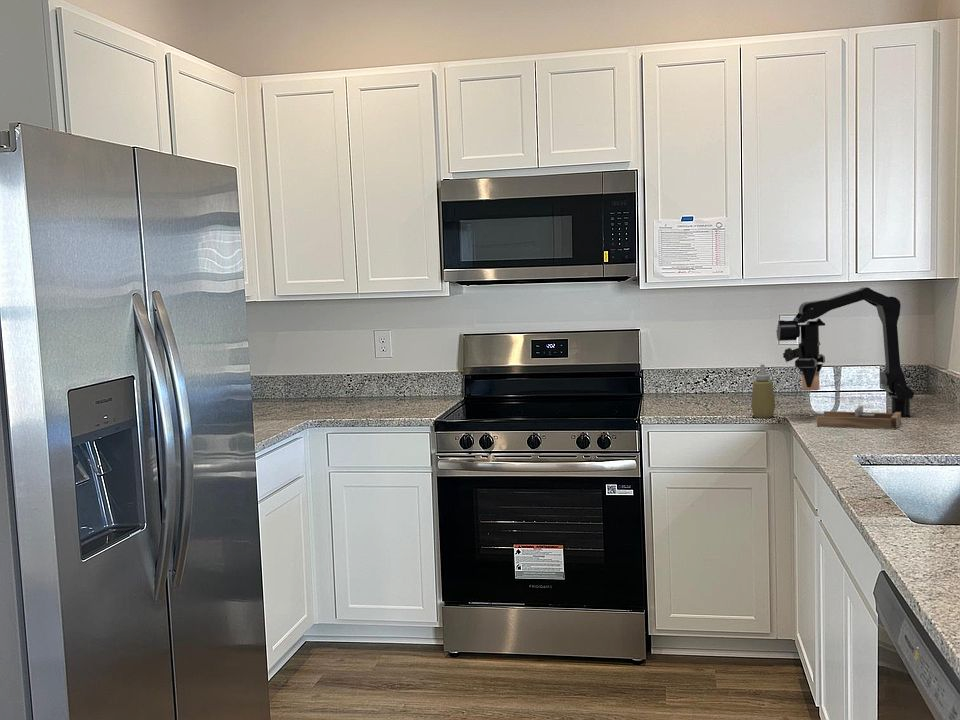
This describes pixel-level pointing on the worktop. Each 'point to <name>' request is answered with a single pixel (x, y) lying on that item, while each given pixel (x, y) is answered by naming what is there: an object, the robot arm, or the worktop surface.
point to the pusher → (860, 413)
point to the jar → (814, 384)
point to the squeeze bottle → (763, 395)
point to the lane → (859, 420)
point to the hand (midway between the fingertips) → (810, 386)
